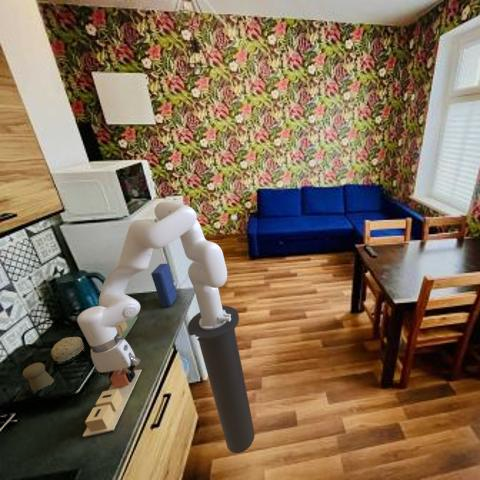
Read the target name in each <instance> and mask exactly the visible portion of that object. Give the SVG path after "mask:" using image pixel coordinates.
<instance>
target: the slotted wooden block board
mask: <svg viewBox="0 0 480 480" xmlns="http://www.w3.org/2000/svg"><path fill="white" fill-rule="evenodd" d="M133 370H134V369H133ZM142 371H143V370H142V369H135V370H134V372H135V377H134V378H133V380H132V382H130V383H129V385H126V386H120V387H115V388H114V386H113V385H112V383H110V384H111V385H110V386H109V388H108V389H107V390H104V391H102V392H101V394H100V395H99V398H98V399H97V400H96V402H95V404H94V405H95V406H93V407H92V409H91V411H90V412H89V414H88V416H87V418H86V420H85V421H84V424H85V425H86V429H85V431H84V432H83V434H82V437H83V438H87V437H91V436H96V435H101V434H104V433H109V432H114V431H115V428H116V426H117V424H118V423H119V419H120V417H121V416H122V413H123V411H124V409H125V408H126V405H127V403H128V401H129V398H130V397H131V394H132V392H133V390H134V388H135V386H136V383H137V381H138V379H139V377H140V375H141V373H142Z"/></svg>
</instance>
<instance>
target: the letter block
mask: <svg viewBox="0 0 480 480" xmlns="http://www.w3.org/2000/svg"><path fill="white" fill-rule="evenodd" d="M128 368H129V367H128ZM126 374H127V373H126V372H125V371H124V369H119V370H115V371H114V372H113V374H112V376H111V378H110V380H111V382H112V383H111V382H110V383H111V384H113V386H114V388H115V387H120V386H126V385H129V383H130V382H129V381H128V378H127V376H126ZM110 380H109V381H110Z"/></svg>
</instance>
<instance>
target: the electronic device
mask: <svg viewBox="0 0 480 480" xmlns="http://www.w3.org/2000/svg"><path fill="white" fill-rule="evenodd" d="M150 276H151V278H152V282H153V284H154V287H155V289H156V290H155V291H156V293H157V297H158V299H159V303H160V306H161V307H162V308H170V307H171V306H172V305H173V303H174V302H175V300H176V299H177V297H178V296H179V295H178V292H177V289H176V285H175V283H174V280H173V277H172V273H171V268H170V264H169V263H160V264H158V265H157V267H155V269H153V271H152V272H151V273H150Z"/></svg>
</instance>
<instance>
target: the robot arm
mask: <svg viewBox="0 0 480 480" xmlns="http://www.w3.org/2000/svg"><path fill="white" fill-rule="evenodd" d="M154 215H155V217H156V219H157V220H158V221H152V220H148V219H137V220H135V221H133V222H132V223H131V224H130V225H129V227H128V230H127V233H126V236H125V240H124V243H123V247H122V249H121V253H120V257H119V260H118V263H117V264H116V265H115V266H114V267H113V268H112V270H111V271H110V272H109V274H108V275H107V276H106V277H105V279H104V281H103V284H102V288H101V290H100V294H99V298H98V305H96V306H92V307H89V308H86V309H85V310H83V311H82V312H81V313H79V314H78V316H77V318H76V322H77V324H78V326H79V329H80V330H81V332H82V333H83V336H84V337H85V340H86V342H87V343H88V346H89V347H90V356H91V361H92V363H93V366H94V367H93V369H92V372H93V373H96V374H99V375H102V376H104V377H105V378H106V379H108V380H109V382H110V384H112V382H111V380H110V378H111V376H112V374H113V372H114V371H115V370H119V369H124V371H125V372H126V373H127V374H126V376H127V378H128V381H129V382H132V380H133V378H134V377H135V372H134V369H135V368H136V367H137V366H138V365H140V363H141V359H139V357H136V355H135V352H134V350H133V349H132V347H131V345H130V344H129V343H128V341H127V340H126V338H125V339H124V336H120V335H119V333H118V332H117V330H116V327H115V325H117V324H120V323H122V322H125V321H127V320H130V319H132V318H133V317H136V316H138V314H139V313H140V310H141V303H140V302H139V301H138V300H137V299H135V298H133V297H131V296H129V295H128V294H126V292H127V291H126V290H127V287H128V284H129V282H130V281H131V279H132V278H133V277H134V276H135V275H136V274H139V273H141V272H144V271H146V270H147V269H148V268H149V266H150V262H151V260H152V255H153V252H154V250H157V249H158V250H159V249H162V248H165V247H167V246H168V245H170V244H171V243H173V242H174V241H175V240H177V239H178V238H180V241H181V245H182V247H183V250H184V254H185V256H186V258H187V259H188V260H190V261H192V262H191V263H190V264H189V266H188V270H187V275H188V278H189V281H190V282H191V285H192V287H193V291H194V294H195V298H196V300H197V305H198V309H199V310H198V311H199V312H200V314H201V319H200V321H199V325H200V327H201V328H202V329H205V330H212V329H216V328H218V327H220V326H222V325H223V324H224V323H225V322H226V321H229V322H230V321H231V317H230V316H231V314H227V313H226V312H225V310H223V309H222V306H223V303H222V300H221V296H220V295H221V294H220V290H219V288H221V287H223V286H224V285H225V283H226V282H227V279H228V269H227V265H226V261H225V257H224V253H223V250H222V248H221V247H220V246H219V244H217V243H216V242H214V241H210V240H207V239H206V237H205V236H204V232H203V230H202V226H201V224H200V222H199V220H198V219H197V218H198V216H197V212H196V211H195V209H194V208H193V207H191V206H189V205H185V204H181V203H176V202H171V201H160V202H158V203H157V204H156V205H155V207H154ZM128 367H129V368H128ZM112 385H113V384H112Z"/></svg>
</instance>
